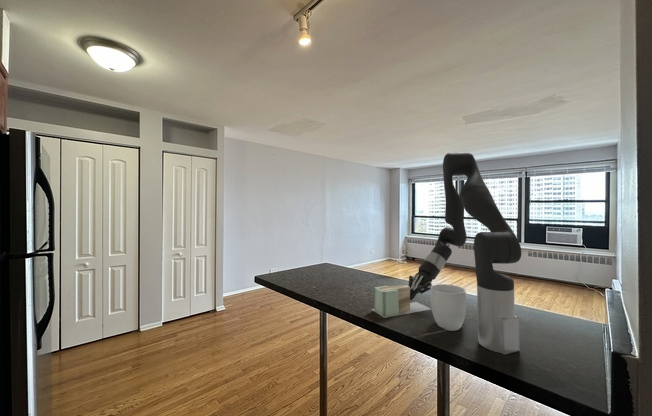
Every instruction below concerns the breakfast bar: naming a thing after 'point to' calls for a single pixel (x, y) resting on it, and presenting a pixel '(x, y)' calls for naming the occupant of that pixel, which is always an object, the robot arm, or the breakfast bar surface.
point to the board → (413, 308)
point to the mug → (448, 306)
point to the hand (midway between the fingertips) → (408, 298)
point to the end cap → (386, 301)
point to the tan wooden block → (401, 295)
